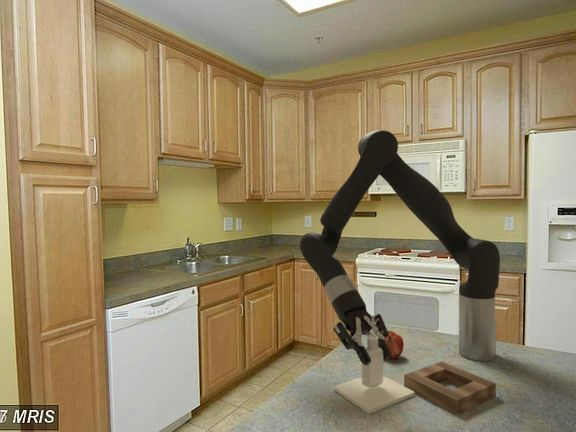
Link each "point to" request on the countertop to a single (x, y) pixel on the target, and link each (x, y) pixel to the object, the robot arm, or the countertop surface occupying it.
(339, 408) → the countertop surface
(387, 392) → the off-white tile
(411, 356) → the countertop surface
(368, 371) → the eye dropper bottle
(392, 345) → the pomegranate
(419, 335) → the countertop surface
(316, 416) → the countertop surface
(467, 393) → the walnut socket stand
